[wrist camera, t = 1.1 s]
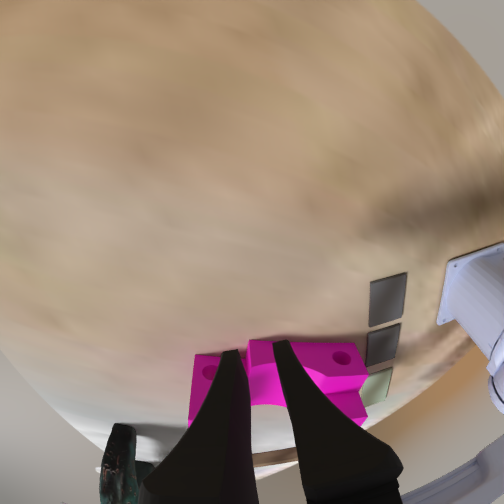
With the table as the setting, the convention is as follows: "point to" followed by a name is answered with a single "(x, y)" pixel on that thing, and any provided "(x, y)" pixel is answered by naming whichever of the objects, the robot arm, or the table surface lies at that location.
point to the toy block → (268, 383)
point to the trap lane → (378, 350)
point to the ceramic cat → (122, 468)
